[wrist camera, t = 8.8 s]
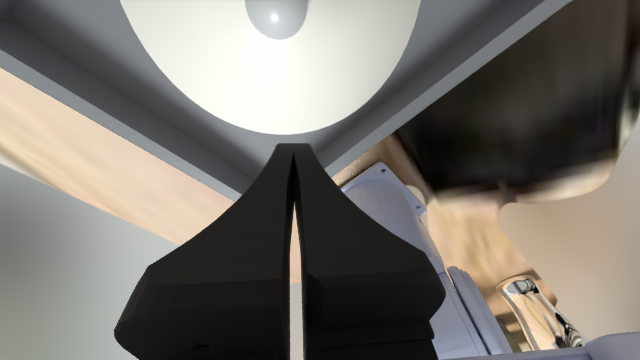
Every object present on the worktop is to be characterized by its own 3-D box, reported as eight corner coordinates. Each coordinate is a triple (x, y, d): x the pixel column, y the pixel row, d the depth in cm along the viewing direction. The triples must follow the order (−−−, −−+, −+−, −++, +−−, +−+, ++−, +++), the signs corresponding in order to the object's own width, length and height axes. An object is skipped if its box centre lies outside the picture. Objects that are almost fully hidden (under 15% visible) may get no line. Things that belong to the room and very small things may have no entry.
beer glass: (511, 295, 45) (585, 404, 34) (483, 291, 43) (553, 406, 32) (545, 275, 41) (642, 392, 30) (517, 270, 39) (610, 393, 28)
